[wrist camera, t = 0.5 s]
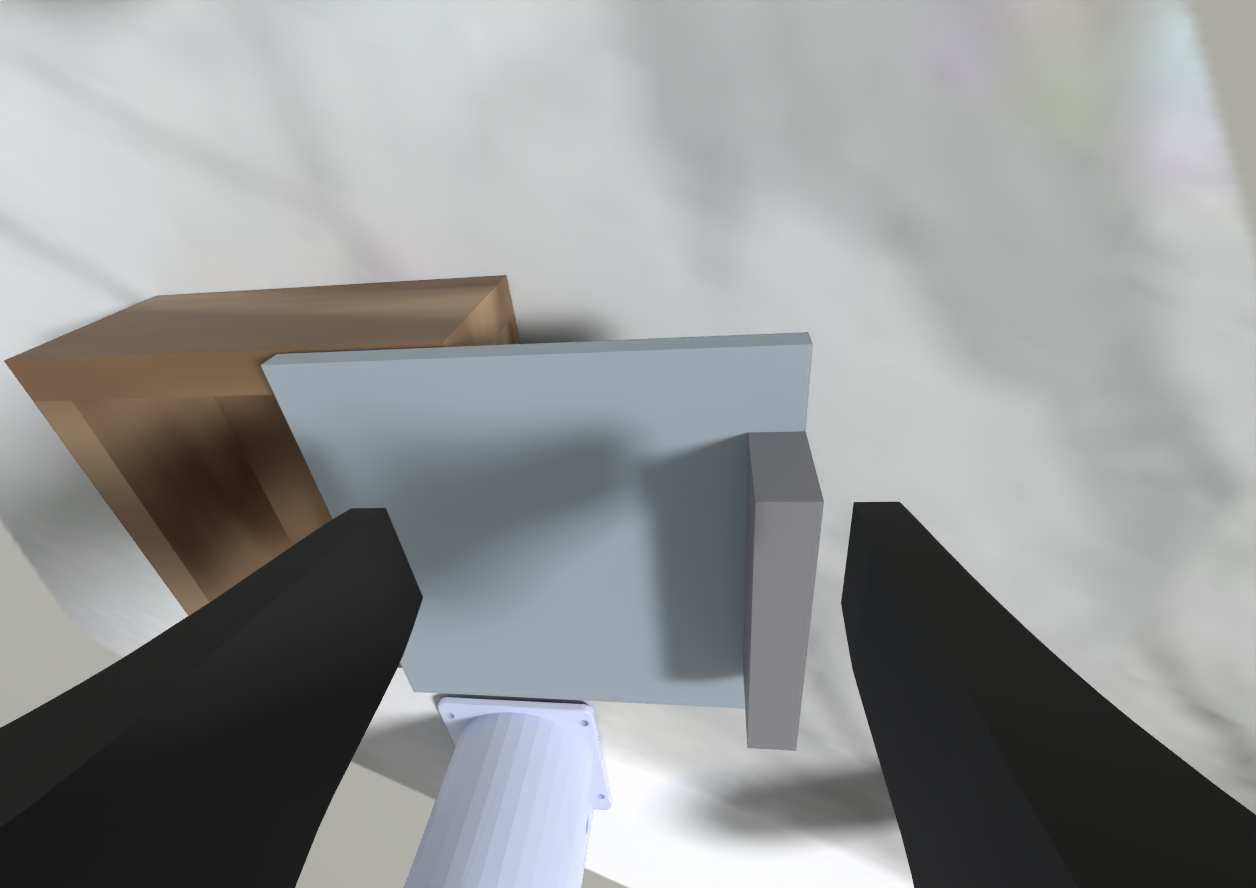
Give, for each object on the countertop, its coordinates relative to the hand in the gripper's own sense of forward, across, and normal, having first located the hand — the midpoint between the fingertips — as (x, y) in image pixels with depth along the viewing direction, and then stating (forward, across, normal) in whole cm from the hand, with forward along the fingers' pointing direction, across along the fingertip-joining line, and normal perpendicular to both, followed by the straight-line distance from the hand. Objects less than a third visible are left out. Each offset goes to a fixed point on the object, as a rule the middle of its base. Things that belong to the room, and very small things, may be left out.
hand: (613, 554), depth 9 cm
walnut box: (+10, +10, +4) cm, 15 cm away
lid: (+5, +2, +4) cm, 7 cm away
